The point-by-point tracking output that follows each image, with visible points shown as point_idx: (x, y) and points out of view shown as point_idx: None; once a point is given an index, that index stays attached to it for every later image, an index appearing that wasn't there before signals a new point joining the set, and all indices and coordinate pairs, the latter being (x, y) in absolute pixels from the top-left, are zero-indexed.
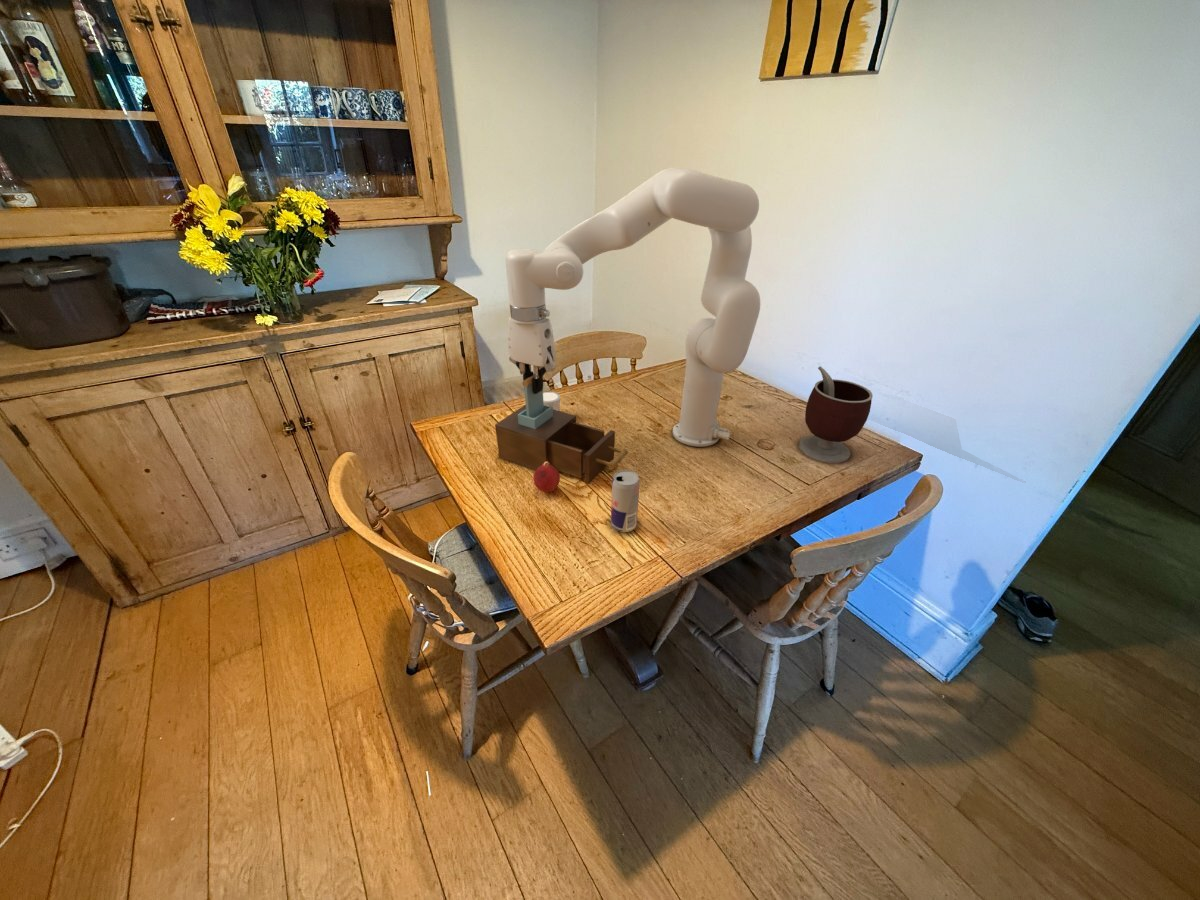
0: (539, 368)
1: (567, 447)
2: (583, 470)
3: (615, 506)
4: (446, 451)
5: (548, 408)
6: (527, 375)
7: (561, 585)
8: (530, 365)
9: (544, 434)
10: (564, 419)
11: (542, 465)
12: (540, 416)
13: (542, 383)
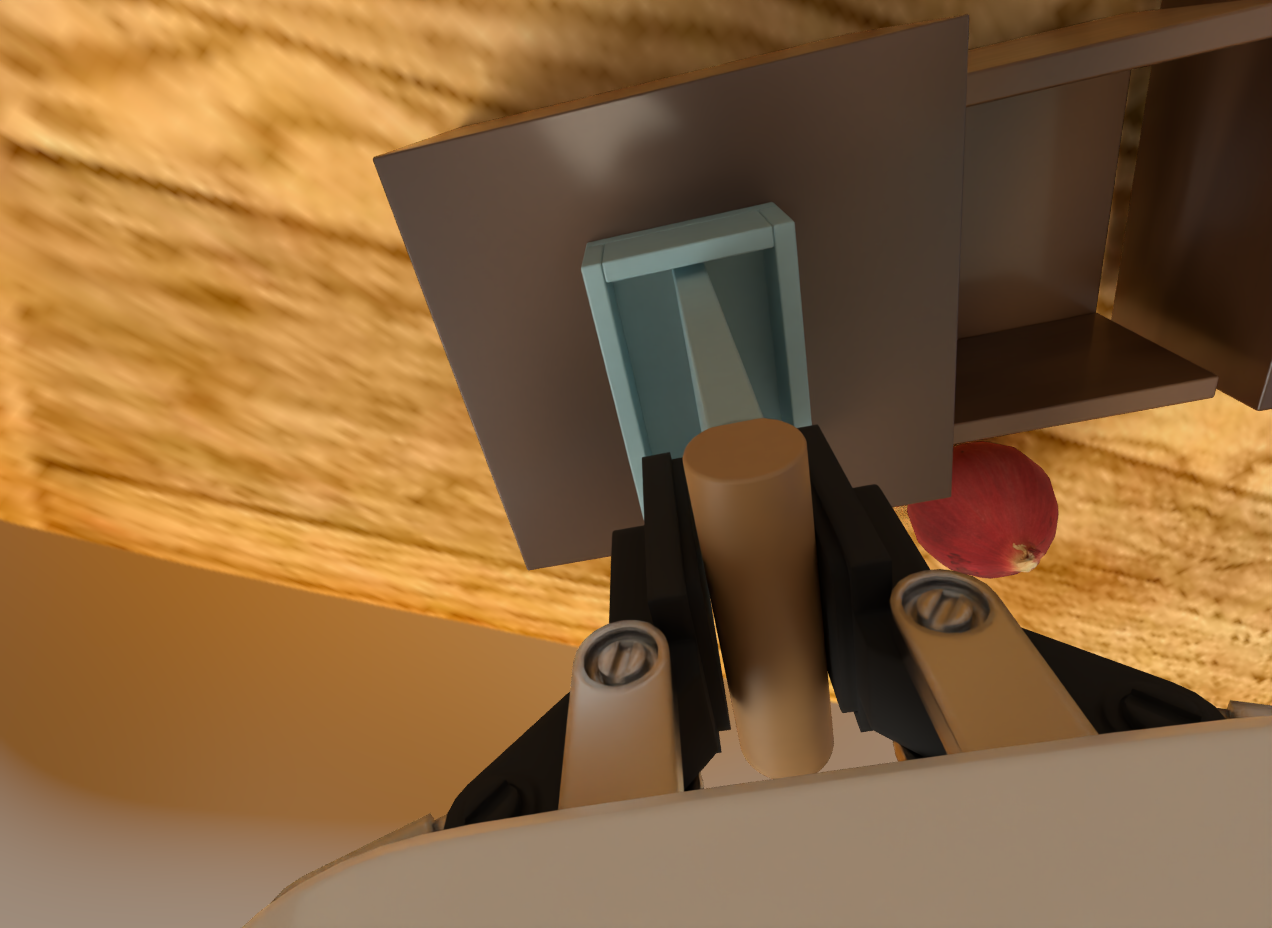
0: (928, 703)
1: (1098, 416)
2: (1084, 285)
3: None
4: (326, 558)
5: (784, 279)
6: (716, 705)
7: (1222, 698)
8: (676, 726)
9: (901, 453)
10: (905, 174)
11: (1002, 567)
12: (809, 417)
13: (895, 527)
